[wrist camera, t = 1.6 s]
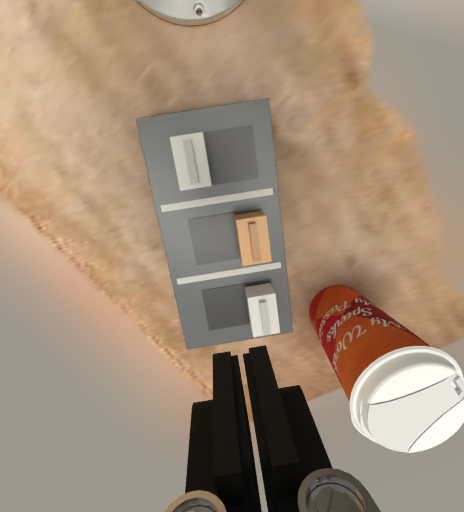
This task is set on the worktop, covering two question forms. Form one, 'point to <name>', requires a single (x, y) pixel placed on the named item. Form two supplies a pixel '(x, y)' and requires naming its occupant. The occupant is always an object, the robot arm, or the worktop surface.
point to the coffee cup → (388, 373)
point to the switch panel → (217, 218)
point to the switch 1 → (191, 161)
